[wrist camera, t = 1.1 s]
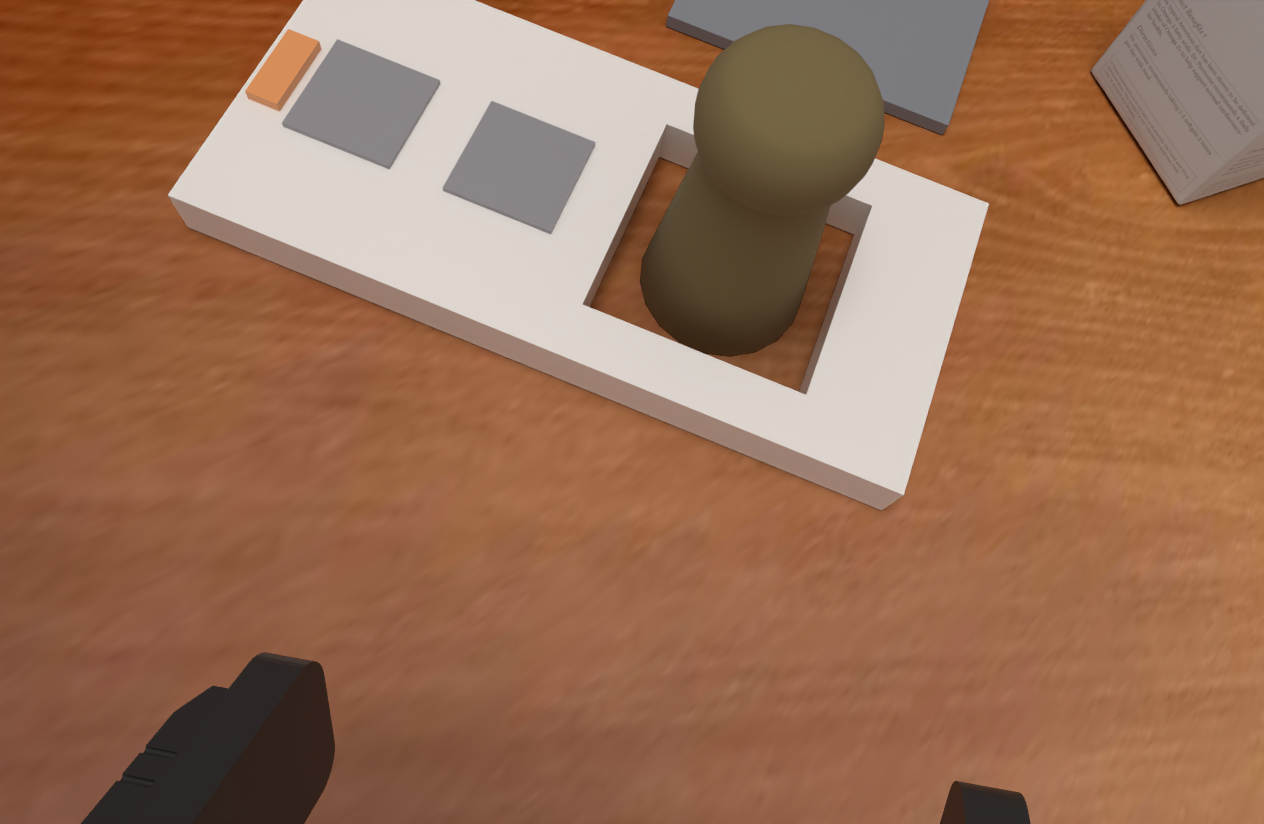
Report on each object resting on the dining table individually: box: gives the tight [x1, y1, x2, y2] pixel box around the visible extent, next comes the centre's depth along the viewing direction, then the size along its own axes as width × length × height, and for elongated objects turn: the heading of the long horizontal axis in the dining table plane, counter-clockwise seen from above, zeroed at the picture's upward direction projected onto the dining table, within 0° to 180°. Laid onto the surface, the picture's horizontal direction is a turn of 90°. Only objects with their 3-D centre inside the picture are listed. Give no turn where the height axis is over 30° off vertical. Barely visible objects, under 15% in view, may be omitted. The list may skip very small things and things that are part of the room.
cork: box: [640, 24, 884, 356], centre depth 30 cm, size 6×6×11 cm
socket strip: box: [168, 0, 989, 510], centre depth 34 cm, size 26×12×2 cm, turn 69°
